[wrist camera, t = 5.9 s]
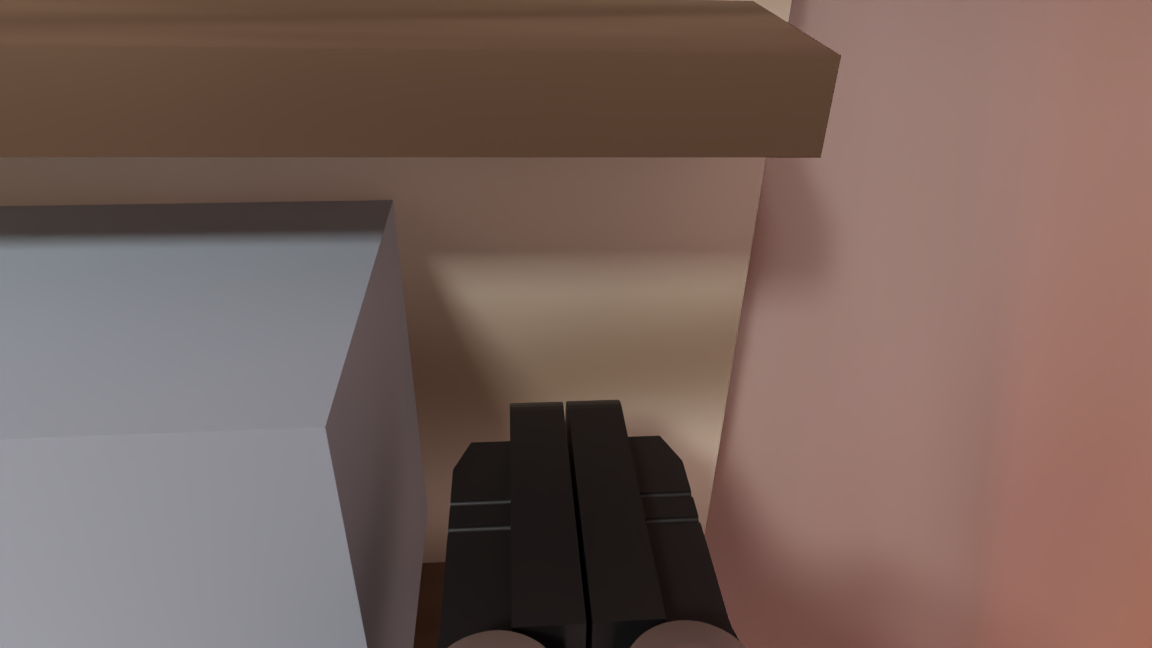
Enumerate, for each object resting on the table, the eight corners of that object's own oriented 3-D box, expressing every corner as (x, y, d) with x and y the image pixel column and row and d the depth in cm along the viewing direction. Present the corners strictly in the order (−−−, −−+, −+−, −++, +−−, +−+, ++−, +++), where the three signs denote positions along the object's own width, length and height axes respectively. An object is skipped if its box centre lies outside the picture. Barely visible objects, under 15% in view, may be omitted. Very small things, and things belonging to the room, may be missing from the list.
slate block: (-62, 207, 10) (-448, 456, 6) (392, 200, 11) (324, 426, 7) (79, 528, 14) (-112, 838, 9) (427, 511, 14) (396, 800, 10)
